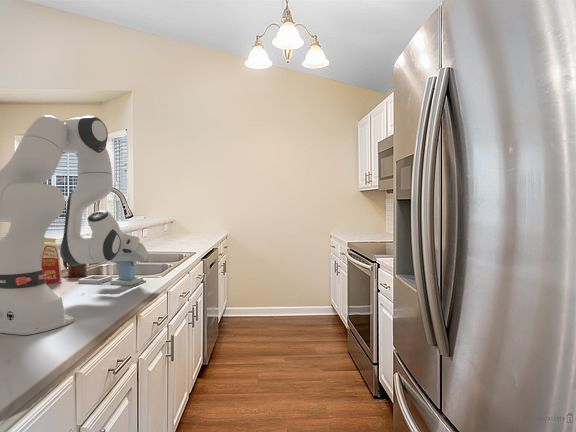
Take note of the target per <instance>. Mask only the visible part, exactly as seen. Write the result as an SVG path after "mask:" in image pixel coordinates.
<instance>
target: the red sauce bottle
mask: <svg viewBox="0 0 576 432" xmlns="http://www.w3.org/2000/svg"><path fill="white" fill-rule="evenodd" d="M56 240H57V238H54V237H53V238H51V237H45V236H44V238H43V242H42V256H41V269H43V271H44V274H47V276H45V278H46V277H48V278H46V284H47V285H49V284H54V283H55V284H56V283H61V282H62V280H63V279H62V268H61V259H60V258H61V257H60V252H59V249H58V245H57V242H56Z"/></svg>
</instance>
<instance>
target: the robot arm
mask: <svg viewBox="0 0 576 432" xmlns="http://www.w3.org/2000/svg"><path fill="white" fill-rule="evenodd" d="M108 135H109V134H108V128H107V126H106V124H105V123H104V122H103V120H102V119H100V118H99V117H98V116H97V117H96V116H92V115H91V116H90V115H86V116H84V115H83V116H82V117H73V118H66V119H62V120H61V119H59V118H58V117H55V116H52V115H41V116H39V117H36V118H35V120H33V122H32V123H31V125H30V126H29V127H28V128H27V129H26V131H25V132H24V135H23V136H22V138H21V140H20V142H19V144H18V145H17V148H16V149H15V151H14V153H13V154H12V157H11V158H10V159H9V161H7V163H6V164H5V165H4V166H3V167H2V168H0V223H1V222H2V223H10V226H9V228H8V231H7V233H6V235H5V236H3V237H1V238H0V334H10V335H20V336H27V335H28V336H29V335H34V334H40V333H44V332H48V331H51V330H54V329H58V328H61V327H63V326H66V325H69V324H71V323H72V322H74V321H75V320H74V317H73V316H71V315H68V314H65V311H64V303H63V298H62V297H61V296H58V295H57V294H56V293H55V292H54V290H52V288H51V287H49V286H48V284H46V278H48V277H46V278H45V276H47V274H44V271H43V269H41V256H42V242H43V238H44V237H45V235H46V233H47V231H48V229H49V227H50V226H51V225H52V223H53V222H54V221H56V219H58V218H60V216H62V214H63V213H64V210H65V208H66V211H65V220H64V227H63V228H64V229H63V236H62V239H61V243H60V247H59V248H60V249H59V257H60V258H61V260H62V261H63V260H64V261H65V262H66V263H67V265H68V264H69V265H71V266H76V265H81V264H95V263H103V262H112V263H114V264H116V265H117V266H118V267H119V261H132V262H131V265H132V266H135V267H137V263H138V262H145V261H147V258H148V257H149V256H148V255H149V252H148V250H147V248H146V247H145V245H144V244H143V243H142V242H140V241H141V240H140V237H138V236H136V235H132V234H127V233H124V232H123V230H121V229H120V225H119V223H118V221H117V220H116V218H115V217H114V216H113V215H112V213H111V212H110V211H108V210H97V211H95V212H92V213H91V214H89V215H88V217H87V223H88V225H89V228H90V230H91V232H92V234H91V235H85V236H84V235H83V236H82V235H81V231H82V230H81V229H82V221H83V216H84V215H83V214H84V212H85V210H86V209H88V208H90V206H92V205H93V204H96V203H98V202H100V201H101V200H104V199H105V198H106V197H107V196H108V195H109V194H110V193H111V192H112V190H113V183H114V181H113V170H112V169H113V167H112V164H111V159H110V154H109V151H108V150H107V148H106V147H107V144H108V143H107V142H108V138H109V137H108ZM67 153H74V155H75V157H76V158H77V183H76V185H75V188H74V190H73V191H72V192H70V193H69V195H68V198H67V203H66V199H65V196H64V194H63V191H62V190H61V189H60V188H59V187H58V186H56V185H52V184H49V183H48V184H47V183H44V182H47V181H49V180H50V179H51V178H52V177H53V176H54V174H55V172H56V170H57V168H58V165H59V163H60V161H61V159H62V155H63V154H67Z"/></svg>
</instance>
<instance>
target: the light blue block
mask: <svg viewBox="0 0 576 432" xmlns="http://www.w3.org/2000/svg"><path fill="white" fill-rule="evenodd" d="M131 262H132V261H119V266H118V278H119V279H131V278H134V277H136V266H132V265H131Z"/></svg>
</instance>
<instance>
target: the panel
mask: <svg viewBox="0 0 576 432" xmlns="http://www.w3.org/2000/svg"><path fill="white" fill-rule="evenodd" d="M77 281H78V282H76V283H75V285H90V286H92V285H94V286H116V287H118V286H119V287H130V289H133V288H135V287H137V286H140V285H144V284H146V283H147V280H146V279H144V276H135V277H134V278H131V279H119V277H117V278H113V276H112V275H96V274H95V275H93V274H92V275H90V276H84V277H81V278H79V279H78V280H77Z"/></svg>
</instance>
